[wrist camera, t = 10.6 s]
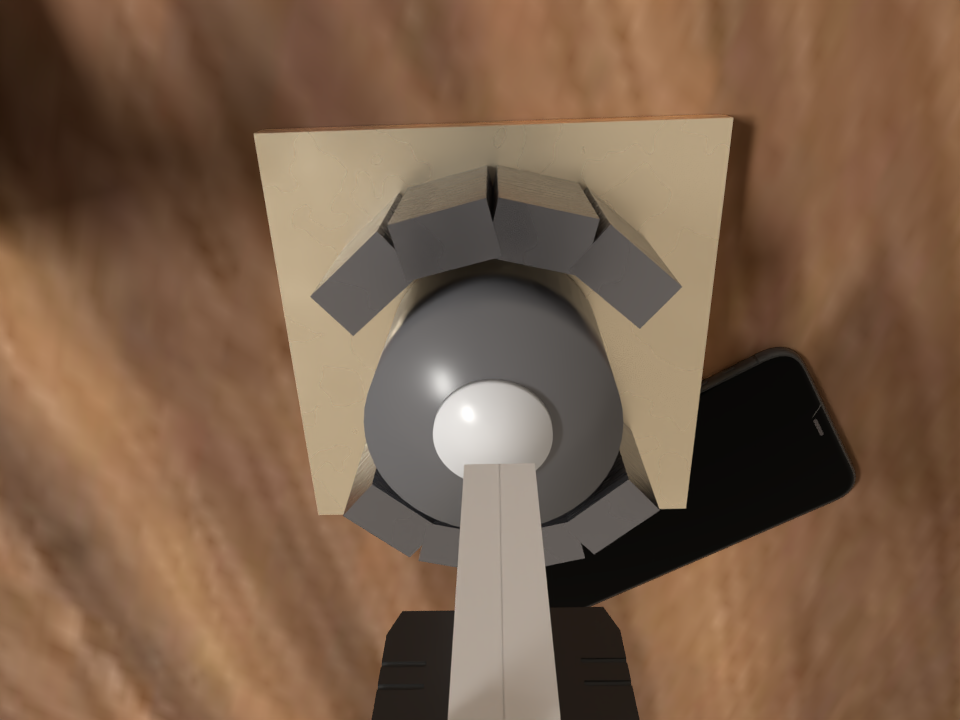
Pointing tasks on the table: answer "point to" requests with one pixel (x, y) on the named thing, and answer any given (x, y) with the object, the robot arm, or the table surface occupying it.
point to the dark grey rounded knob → (493, 388)
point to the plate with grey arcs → (509, 237)
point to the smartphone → (727, 479)
